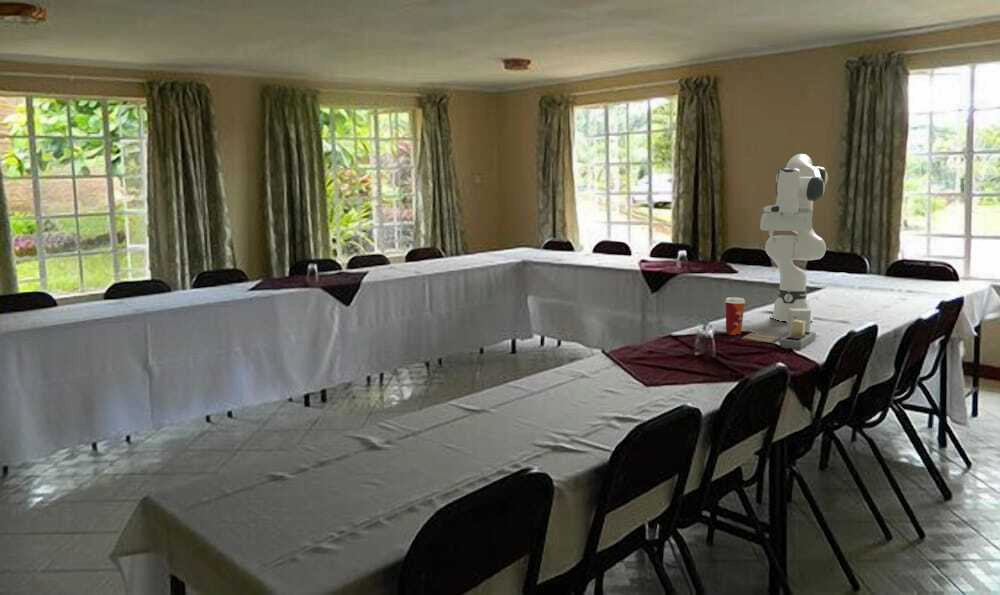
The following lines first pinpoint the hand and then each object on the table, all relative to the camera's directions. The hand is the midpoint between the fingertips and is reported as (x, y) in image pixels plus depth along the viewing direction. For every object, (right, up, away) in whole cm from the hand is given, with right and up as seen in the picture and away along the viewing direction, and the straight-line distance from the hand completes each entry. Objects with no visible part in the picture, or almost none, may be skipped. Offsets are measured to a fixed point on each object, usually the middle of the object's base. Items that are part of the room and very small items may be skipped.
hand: (785, 242), depth 317 cm
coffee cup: (-18, -38, +10) cm, 43 cm away
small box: (+9, -38, +10) cm, 41 cm away
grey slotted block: (+2, -41, -8) cm, 42 cm away
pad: (-10, -40, -1) cm, 41 cm away
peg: (+2, -41, -8) cm, 42 cm away
